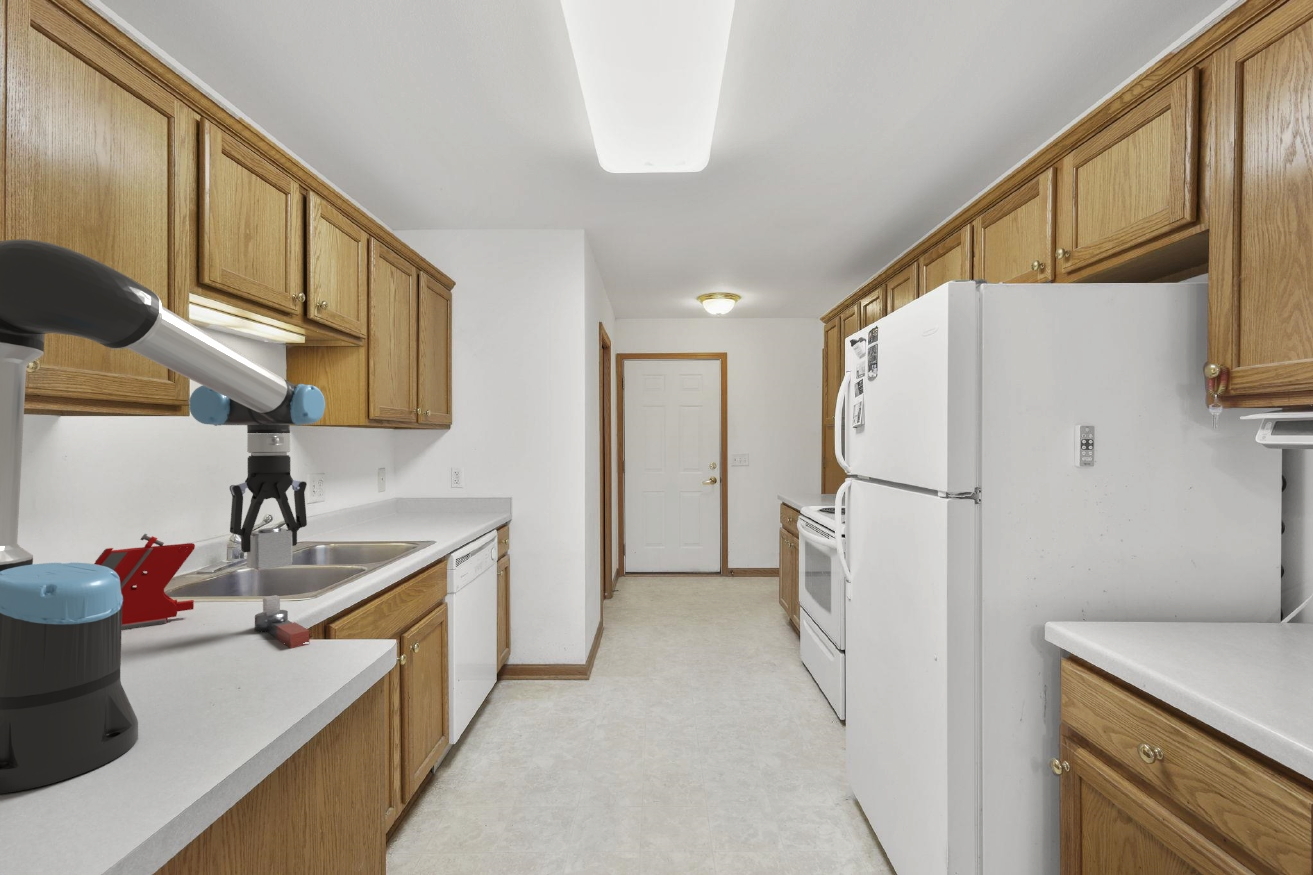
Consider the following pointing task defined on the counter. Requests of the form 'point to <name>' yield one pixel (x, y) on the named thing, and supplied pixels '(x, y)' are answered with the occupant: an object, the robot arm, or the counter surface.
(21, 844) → the counter surface
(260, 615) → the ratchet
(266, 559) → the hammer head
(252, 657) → the counter surface
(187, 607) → the tool
